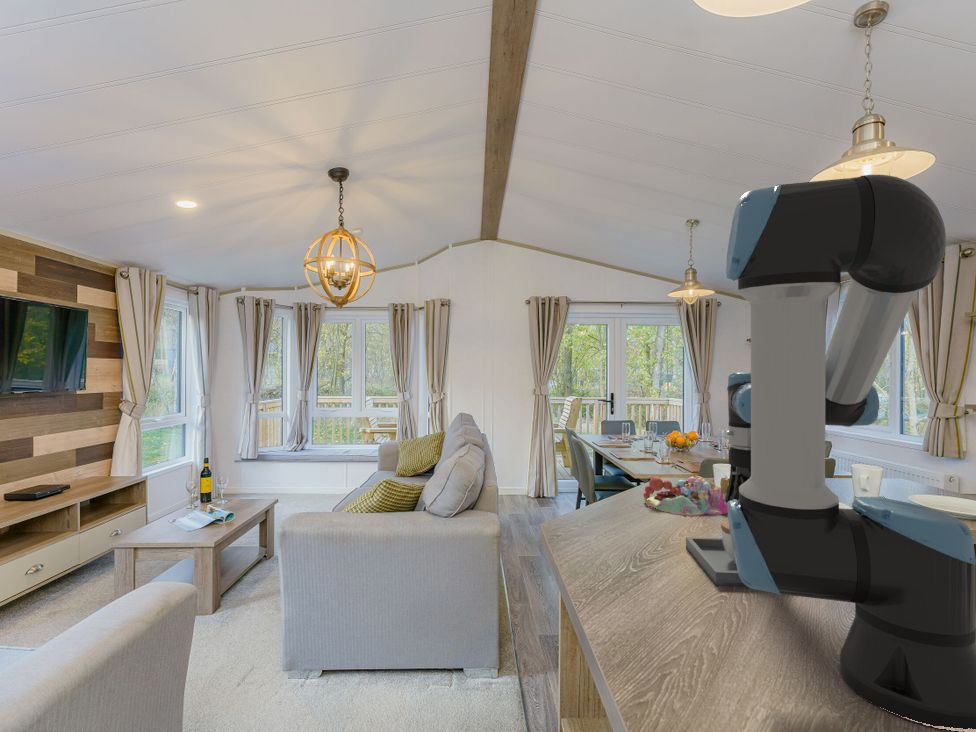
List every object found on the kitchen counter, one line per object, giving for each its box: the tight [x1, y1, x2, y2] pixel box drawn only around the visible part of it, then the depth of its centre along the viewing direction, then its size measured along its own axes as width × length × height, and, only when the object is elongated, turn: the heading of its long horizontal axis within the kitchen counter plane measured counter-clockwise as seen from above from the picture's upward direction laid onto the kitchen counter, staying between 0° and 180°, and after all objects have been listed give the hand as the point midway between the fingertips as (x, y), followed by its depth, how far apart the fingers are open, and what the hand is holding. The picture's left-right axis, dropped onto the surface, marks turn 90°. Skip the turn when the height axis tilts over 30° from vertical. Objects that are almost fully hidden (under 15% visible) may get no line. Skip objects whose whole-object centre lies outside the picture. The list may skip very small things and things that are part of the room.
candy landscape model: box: [643, 475, 731, 517], centre depth 151 cm, size 25×24×9 cm
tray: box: [685, 536, 746, 587], centre depth 104 cm, size 20×20×2 cm
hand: (749, 550), depth 104 cm, fingers open, 13 cm apart
